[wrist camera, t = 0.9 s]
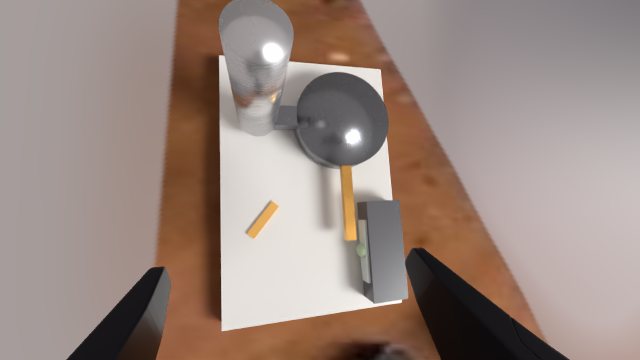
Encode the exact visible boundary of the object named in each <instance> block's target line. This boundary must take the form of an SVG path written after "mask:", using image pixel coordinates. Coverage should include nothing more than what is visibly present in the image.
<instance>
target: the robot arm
mask: <svg viewBox="0 0 640 360" xmlns="http://www.w3.org/2000/svg"><path fill="white" fill-rule="evenodd" d="M405 266H406V269H407V273H408V276H409V279H410V282H411V285H412V288H413V292H414V295H415V298H416V301H417V303H418V306H419V308H420V311H421V313H422V315H423V318H424V320H425V322H426V325H427V327H428V329H429V332H430V334H431V337H432V339H433V341H434V344H435V346H436V348H437V351H438V353H439V355H440V358H441V360H569V359H568V358H567V357H565V356H564V355H562V354H561V353H559V352H558V351H556V350H555V349H554V348H552V347H551V346H549V345H548V344H547V343H545V342H544V341H542V340H541V339H540V338H538V337H537V336H536V335H534V334H533V333H532V332H530V331H529V330H528V329H526V328H525V327H524V326H522V325H521V324H520V323H519V322H517V321H516V320H515V319H513V318H512V317H510V315H508V314H507V313H506V312H504V311H503V310H502V309H501V308H499V307H498V306H497V305H495V304H494V303H493V302H492V301H490V300H489V299H488V298H486V297H485V296H484V295H483V294H481V293H480V292H479V291H477V290H476V289H475V288H474V287H472V286H471V285H470V284H468V283H467V282H466V281H465V280H463V279H462V278H461V277H460V276H458V275H457V274H456V273H454V272H453V271H452V270H451V269H449V268H448V267H447V266H445V265H444V264H443V263H442V262H440V261H439V260H438V259H436V258H435V257H434V256H433V255H431V254H430V253H429V252H427V251H426V250H425V249H423V248H412V249H411V251H410V253H409V254H408V256H407V258H406V260H405ZM170 289H171V281H170V278H169V275H168V272H167V269H166V268H165V267H153V268H151V269H149V270H148V271H147V272H146V273H145V274H144V275H143V277H142V278H141V279H140V280H139V281H138V282H137V283H136V284H135V285H134V286H133V287H132V289H131V290H130V291H129V292H128V293H127V294H126V295H125V296H124V297H123V299H122V300H121V301H120V302H119V303H118V304H117V305H116V306H115V307H114V308H113V309H112V311H111V312H110V313H109V314H108V315H107V316H106V317H105V318H104V319H103V321H101V323H100V324H99V325H98V326H97V327H96V328H95V329H94V330H93V331H92V332H91V333H90V334H89V336H88V337H87V338H86V339H85V340H84V341H83V342H82V344H80V345H79V347H78V348H77V349H76V350H75V351H74V352H73V353H72V354H71V355H70V356H69V357H68V359H67V360H156V356H157V353H158V349H159V346H160V342H161V338H162V334H163V329H164V323H165V317H166V312H167V306H168V300H169V294H170Z"/></svg>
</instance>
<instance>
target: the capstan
mask: <svg viewBox="0 0 640 360" xmlns="http://www.w3.org/2000/svg"><path fill="white" fill-rule="evenodd" d="M219 32H220V37H221V42H222V47H223V51H224V56H225V61H226V66H227V71H228V75H229V80H230V85H231V90H232V95H233V99H234V104H235V109H236V114H237V118H238V123H239V125H240V127H241V128H242V130H243V131H245V132H246V133H247V134H249V135H252V136H257V137H260V136H265V135H267V134H269V133H270V132H271V131H272V130H294V133H295V137H296V139H297V142H298V144H299V145H300V147H301V149H302V150H303V151H304V153H305V154H306V155H307V156H308V157H309V158H311V159H312V160H313V161H315V162H316V163H318V164H320V165H322V166H324V167H328V168H332V169H340V178H341V193H342V208H343V223H344V238H345V240H346V241H350V240H357V238H356V224H355V210H354V197H353V183H352V169H351V167H354V166H356V165H358V164H360V163H363V162H365V161H366V160H368V159H370V158H371V157H373V156H374V155H375V154H376V153H377V152H378V151H379V150H380V148H381V147H382V145H383V144H384V142H385V139H386V137H387V132H388V114H387V110H386V107H385V104H384V102H383V100H382V98H381V96H380V95H379V94H378V92H377V91H376V90H375V89H374V88H373V87H372V86H371V85H370V84H369V83H368V82H366V81H365V80H363V79H362V78H360V77H358V76H355V75H353V74H349V73H344V72H331V73H326V74H323V75H321V76H318V77H317V78H315V79H313V80H312V81H311V82H310V83H309V84H308V85H307V86H306V87H305V88H304V90H303V91H302V93H301V95H300V98H299V100H298V103H297V106H284V105H280V102H281V97H282V93H283V88H284V83H285V78H286V73H287V68H288V63H289V58H290V54H291V49H292V44H293V38H294V32H293V27H292V24H291V21H290V19H289V18H288V16H287V15H286V13H285V12H284V11H283V10H282V9H281V8H280V7H279V6H277V5H276V4H275V3H273V2H271V1H269V0H233V1H232V2H230V3H229V4H228V5H227V6H226V7H225V8H224V9H223V11H222V12H221V15H220V18H219Z"/></svg>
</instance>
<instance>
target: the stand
mask: <svg viewBox="0 0 640 360" xmlns="http://www.w3.org/2000/svg"><path fill="white" fill-rule="evenodd" d="M331 72H344V73H349V74H353V75H355V76H358V77H360V78H362V79H363V80H365V81H366V82H368V83H369V84H370V85H371V86H372V87H373V88H374V89H375V90H376V91H377V92H378V94H379V95H380V96H381V98H382V100H383V91H382V80H381V69H369V68H358V67H346V66H335V65H323V64H312V63H300V62H289V63H288V68H287V73H286V78H285V83H284V88H283V93H282V97H281V102H280V105H284V106H297V103H298V100H299V98H300V95H301V93H302V91H303V90H304V88H305V87H306V86H307V85H308V84H309V83H310V82H311V81H312V80H313V79H315V78H317V77H318V76H321V75H323V74H326V73H331ZM219 93H220V201H221V308H222V331H226V330H232V329H239V328H245V327H251V326H257V325H264V324H270V323H276V322H282V321H289V320H295V319H301V318H307V317H314V316H320V315H326V314H332V313H339V312H345V311H351V310H357V309H364V308H370V307H376V306H382V305H389V304H395V303H401V302H402V300H403V299H408V288H407V277H406V267H405V256H404V246H403V235H402V224H401V214H400V203H399V200H392V190H391V179H390V168H389V157H388V146H387V137H386V139H385V142H384V144H383V145H382V147H381V148H380V150H379V151H378V152H377V153H376V154H375V155H374V156H373V157H371V158H370V159H368V160H366V161H365V162H363V163H360V164H358V165H356V166H354V167H351V169H352V183H353V197H354V210H355V224H356V238H357V240H350V241H346V240H345V238H344V223H343V208H342V193H341V178H340V169H332V168H328V167H324V166H322V165H320V164H318V163H316V162H315V161H313V160H312V159H311V158H309V157H308V156H307V155H306V154H305V153H304V151H303V150H302V149H301V147H300V145H299V144H298V142H297V139H296V137H295V133H294V130H272V131H271V132H270V133H269V134H267V135H265V136H260V137H257V136H252V135H249V134H247V133H246V132H245V131H243V130H242V128H241V127H240V125H239V123H238V118H237V114H236V109H235V104H234V99H233V95H232V90H231V85H230V80H229V75H228V71H227V66H226V61H225V56H220V55H219Z"/></svg>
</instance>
